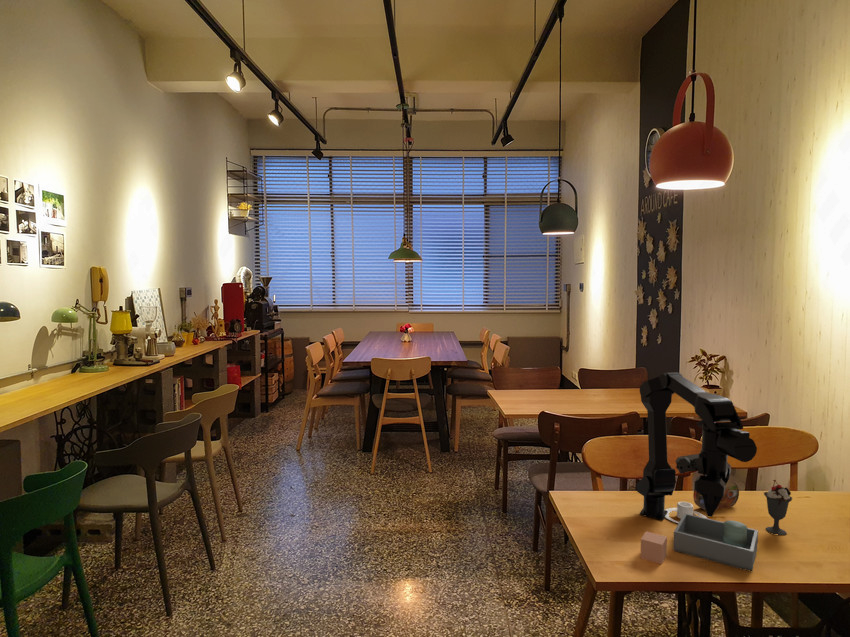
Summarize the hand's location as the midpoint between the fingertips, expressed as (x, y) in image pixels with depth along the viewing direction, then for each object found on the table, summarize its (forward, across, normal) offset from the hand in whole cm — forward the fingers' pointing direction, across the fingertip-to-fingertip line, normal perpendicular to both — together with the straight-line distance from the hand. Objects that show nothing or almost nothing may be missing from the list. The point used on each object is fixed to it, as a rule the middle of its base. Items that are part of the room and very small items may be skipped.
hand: (711, 509), depth 136 cm
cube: (+12, +9, -12) cm, 19 cm away
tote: (+12, -4, +1) cm, 13 cm away
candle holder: (+13, -20, -9) cm, 25 cm away
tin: (+12, -33, -2) cm, 35 cm away
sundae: (+12, -24, +14) cm, 30 cm away
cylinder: (+11, -4, +5) cm, 13 cm away
